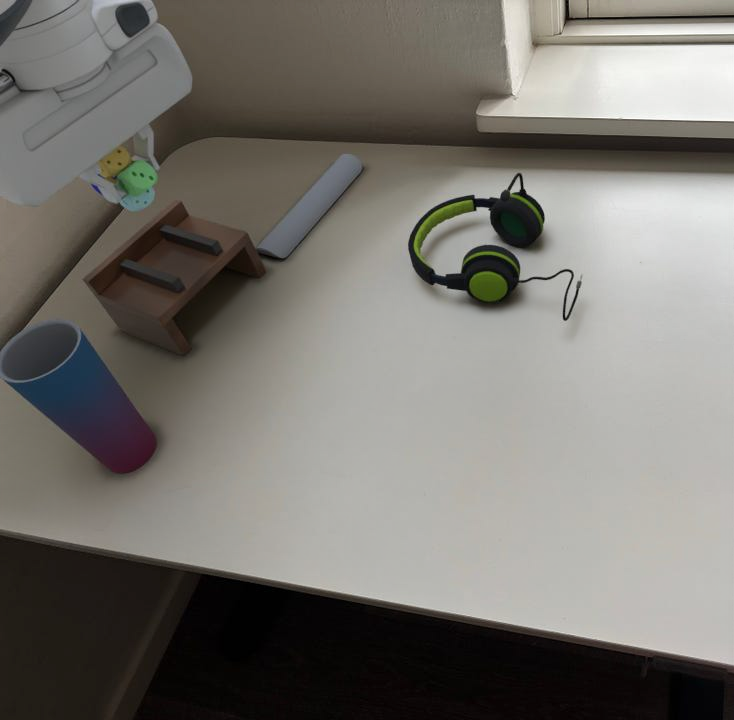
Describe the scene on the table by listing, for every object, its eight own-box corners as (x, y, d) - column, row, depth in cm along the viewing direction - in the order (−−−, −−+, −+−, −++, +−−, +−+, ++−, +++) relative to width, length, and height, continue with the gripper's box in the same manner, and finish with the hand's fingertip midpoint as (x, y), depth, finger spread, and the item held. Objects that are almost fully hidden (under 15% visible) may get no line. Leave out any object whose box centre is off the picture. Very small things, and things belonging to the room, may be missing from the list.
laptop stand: (184, 356, 76) (148, 304, 70) (120, 331, 80) (81, 279, 74) (266, 271, 84) (240, 217, 78) (204, 252, 88) (175, 198, 81)
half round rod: (253, 256, 86) (248, 245, 84) (339, 162, 96) (335, 151, 95) (282, 263, 84) (277, 252, 83) (365, 167, 95) (362, 155, 94)
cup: (137, 489, 66) (42, 389, 55) (80, 473, 68) (-24, 374, 57) (179, 429, 70) (98, 325, 58) (124, 416, 72) (35, 312, 61)
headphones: (564, 270, 64) (366, 238, 70) (567, 342, 71) (388, 307, 77) (608, 164, 73) (430, 145, 79) (607, 238, 80) (444, 214, 86)
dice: (103, 205, 71) (64, 149, 66) (123, 190, 72) (85, 133, 68) (156, 217, 67) (118, 158, 63) (175, 200, 69) (139, 141, 64)
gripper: (-38, 118, 51) (71, 263, 61) (165, -10, 61) (228, 132, 72) (-88, 104, 53) (25, 246, 64) (115, -16, 64) (184, 122, 74)
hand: (134, 185), depth 68 cm, fingers closed on dice, 3 cm apart
